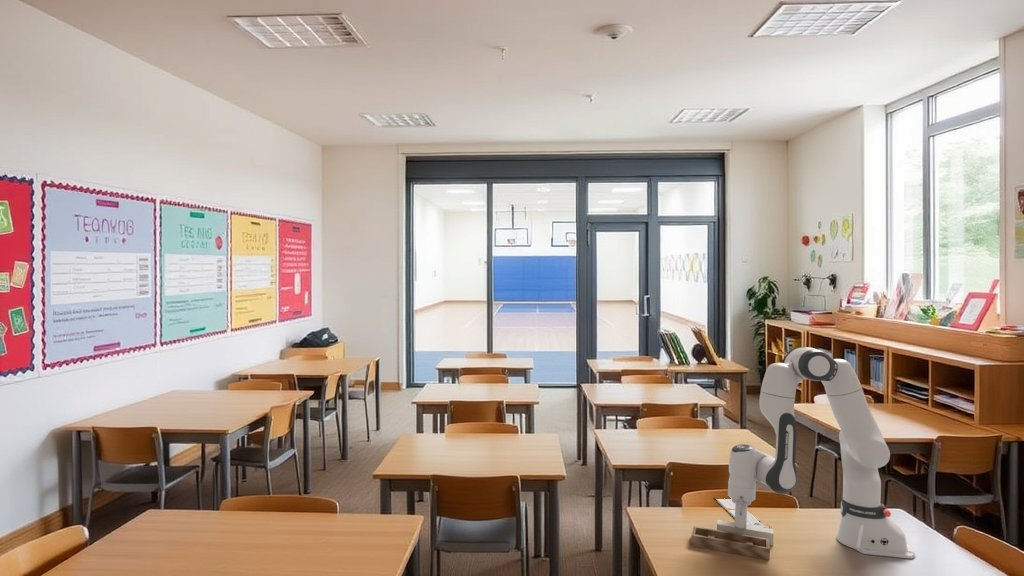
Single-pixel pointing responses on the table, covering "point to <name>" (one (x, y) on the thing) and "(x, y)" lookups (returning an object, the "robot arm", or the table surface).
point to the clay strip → (749, 530)
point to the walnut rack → (731, 542)
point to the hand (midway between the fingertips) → (740, 532)
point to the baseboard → (729, 504)
